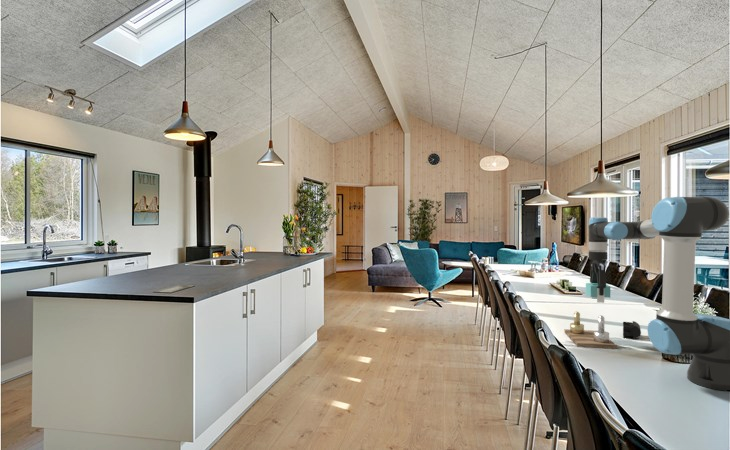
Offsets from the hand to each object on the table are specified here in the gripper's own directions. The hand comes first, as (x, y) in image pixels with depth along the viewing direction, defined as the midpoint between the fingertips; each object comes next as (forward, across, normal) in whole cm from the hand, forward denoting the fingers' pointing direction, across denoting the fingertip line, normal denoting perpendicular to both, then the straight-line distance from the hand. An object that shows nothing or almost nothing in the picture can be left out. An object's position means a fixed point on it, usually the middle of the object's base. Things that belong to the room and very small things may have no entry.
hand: (597, 300), depth 192 cm
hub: (+18, +11, +6) cm, 22 cm away
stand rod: (+18, -2, -1) cm, 18 cm away
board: (+20, +4, +2) cm, 20 cm away
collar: (-2, 0, 0) cm, 2 cm away
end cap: (+20, +14, -19) cm, 31 cm away
